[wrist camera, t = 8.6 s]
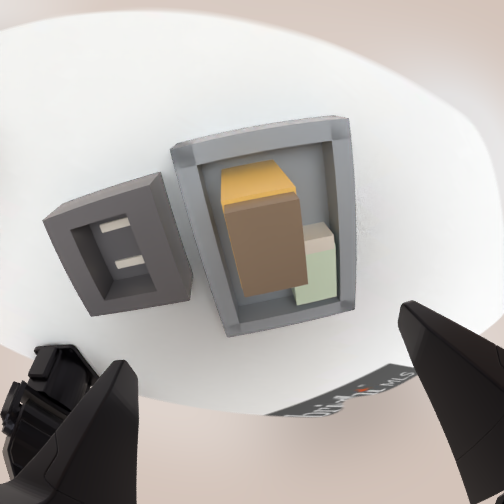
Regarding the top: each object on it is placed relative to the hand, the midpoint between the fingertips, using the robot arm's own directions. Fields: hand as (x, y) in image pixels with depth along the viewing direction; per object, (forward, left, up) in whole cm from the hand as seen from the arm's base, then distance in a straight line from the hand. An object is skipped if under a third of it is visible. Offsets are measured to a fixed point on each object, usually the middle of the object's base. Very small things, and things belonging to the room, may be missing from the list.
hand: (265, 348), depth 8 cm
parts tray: (-2, -2, -12) cm, 13 cm away
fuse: (-5, -4, -12) cm, 13 cm away
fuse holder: (-1, +9, -12) cm, 15 cm away
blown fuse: (0, -1, -12) cm, 12 cm away
